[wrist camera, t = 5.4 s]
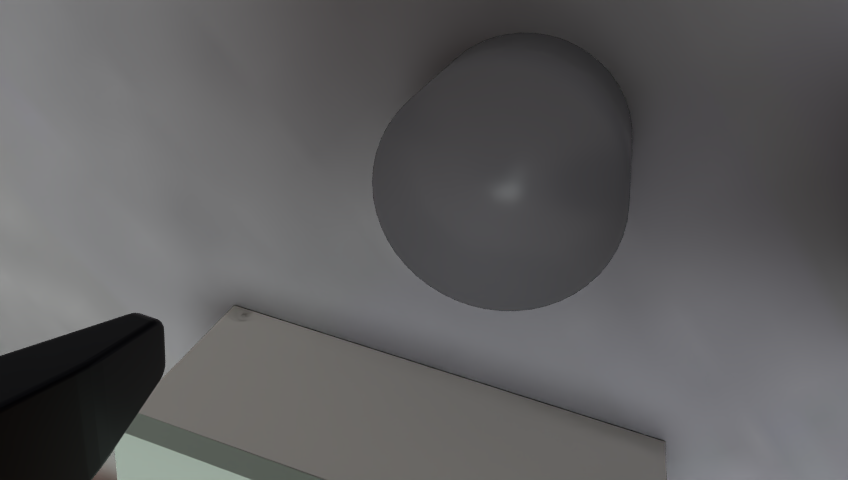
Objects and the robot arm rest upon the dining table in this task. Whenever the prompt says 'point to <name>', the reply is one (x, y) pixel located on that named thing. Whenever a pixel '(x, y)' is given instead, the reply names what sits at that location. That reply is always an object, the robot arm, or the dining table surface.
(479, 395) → the box
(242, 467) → the lid
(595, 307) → the dining table surface
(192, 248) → the dining table surface
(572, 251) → the gray rounded pebble
